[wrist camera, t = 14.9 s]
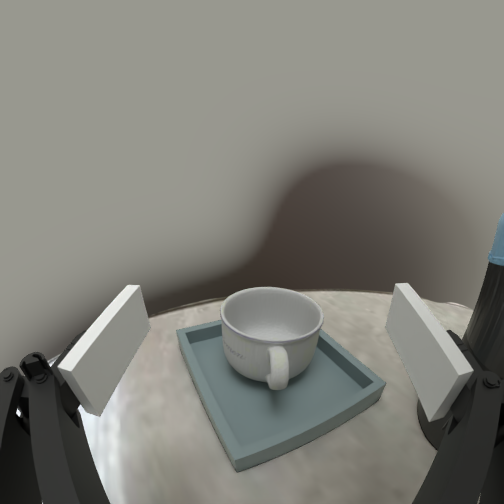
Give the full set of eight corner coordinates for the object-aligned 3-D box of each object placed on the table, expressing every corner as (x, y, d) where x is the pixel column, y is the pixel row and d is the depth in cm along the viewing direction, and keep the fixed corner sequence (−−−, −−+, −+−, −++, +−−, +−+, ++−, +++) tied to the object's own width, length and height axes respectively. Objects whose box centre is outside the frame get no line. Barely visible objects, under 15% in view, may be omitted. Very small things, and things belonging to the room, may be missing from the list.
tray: (287, 318, 41) (288, 301, 40) (378, 400, 24) (386, 383, 23) (179, 347, 35) (175, 330, 34) (236, 472, 18) (234, 460, 17)
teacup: (235, 332, 36) (232, 281, 34) (314, 338, 35) (321, 286, 32) (207, 411, 24) (195, 355, 21) (316, 422, 22) (330, 367, 19)
